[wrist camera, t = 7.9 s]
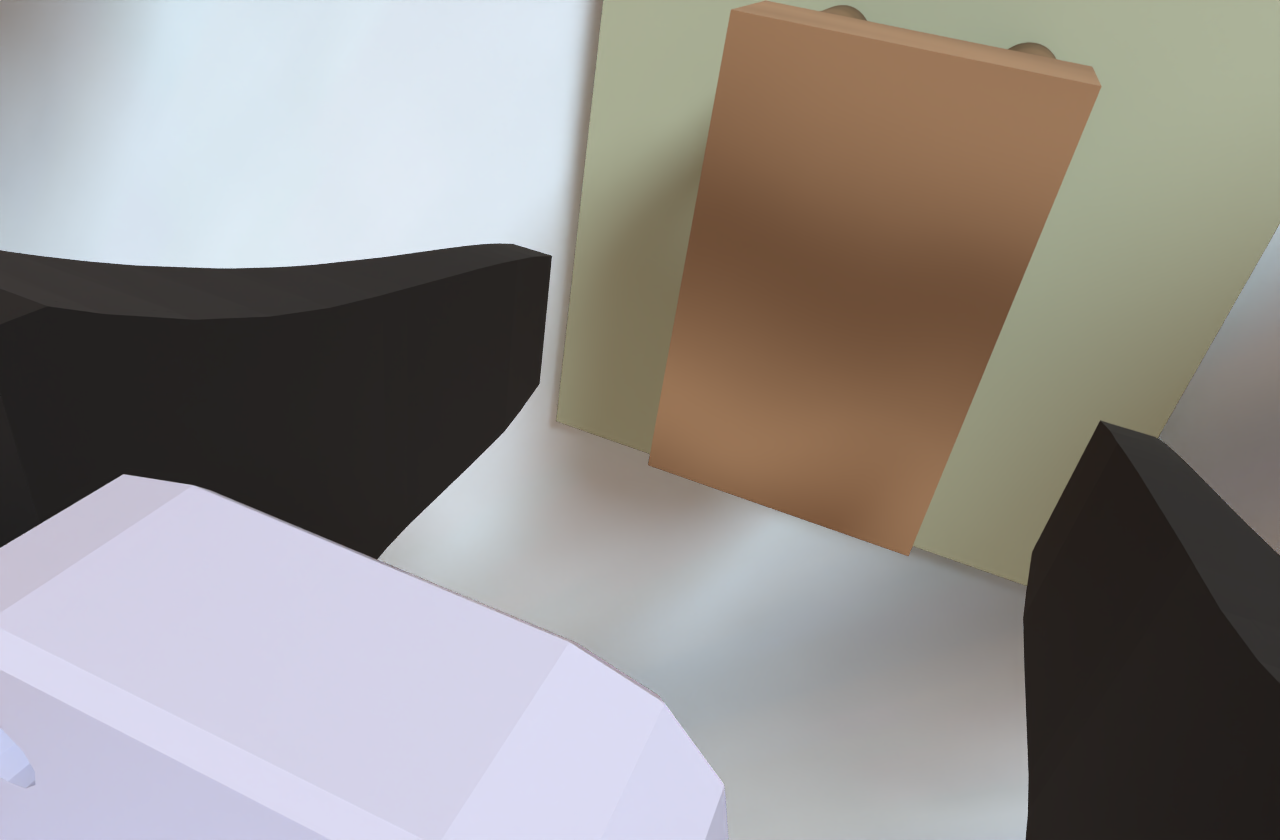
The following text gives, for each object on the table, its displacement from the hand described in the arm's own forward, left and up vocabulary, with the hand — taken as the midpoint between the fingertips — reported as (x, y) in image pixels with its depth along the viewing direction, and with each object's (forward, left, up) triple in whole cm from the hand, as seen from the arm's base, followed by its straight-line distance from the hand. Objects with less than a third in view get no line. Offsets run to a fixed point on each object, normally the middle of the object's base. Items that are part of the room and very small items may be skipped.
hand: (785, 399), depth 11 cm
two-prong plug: (0, 0, -9) cm, 9 cm away
